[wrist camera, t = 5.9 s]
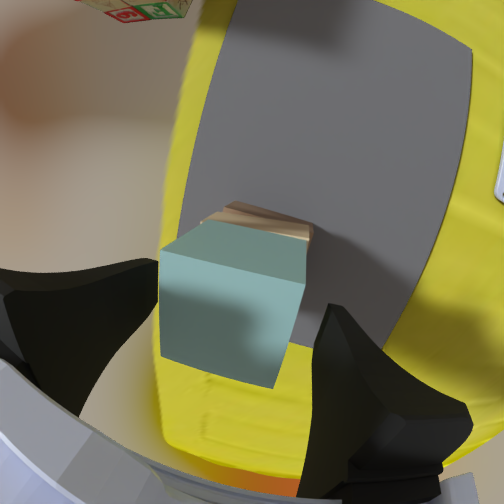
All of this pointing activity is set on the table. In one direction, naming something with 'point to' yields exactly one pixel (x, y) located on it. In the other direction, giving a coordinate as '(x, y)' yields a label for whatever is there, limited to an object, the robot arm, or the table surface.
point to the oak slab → (264, 225)
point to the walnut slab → (264, 215)
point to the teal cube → (230, 300)
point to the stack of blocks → (141, 9)
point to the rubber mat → (336, 144)
